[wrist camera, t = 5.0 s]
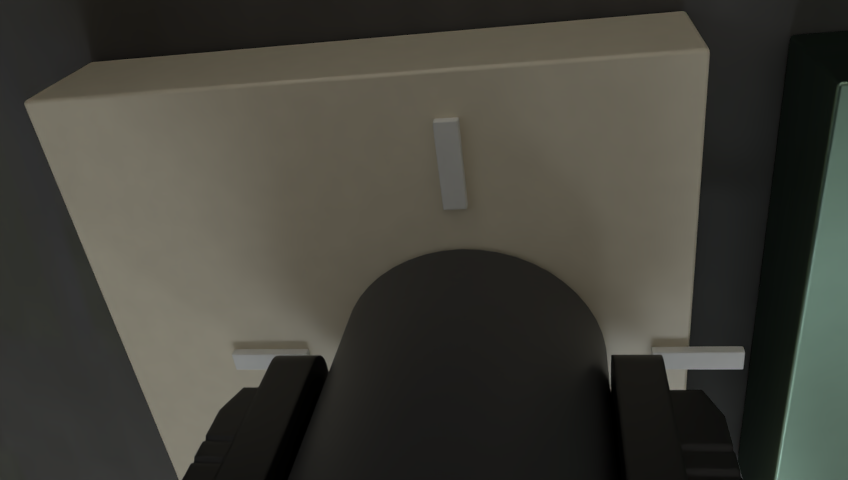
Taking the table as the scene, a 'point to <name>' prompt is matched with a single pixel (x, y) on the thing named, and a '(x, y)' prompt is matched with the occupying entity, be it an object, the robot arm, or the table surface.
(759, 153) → the table surface
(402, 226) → the control panel
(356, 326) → the dial
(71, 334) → the table surface
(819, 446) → the button box
